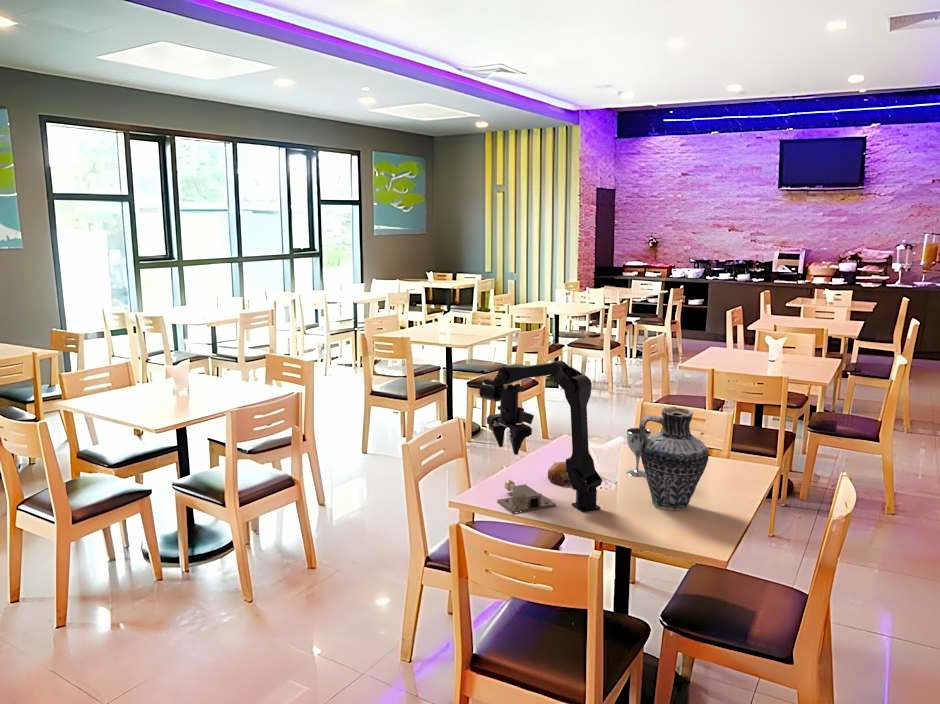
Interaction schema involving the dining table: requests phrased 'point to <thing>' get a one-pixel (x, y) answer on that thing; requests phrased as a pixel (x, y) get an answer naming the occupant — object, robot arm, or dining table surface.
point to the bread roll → (558, 474)
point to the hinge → (525, 500)
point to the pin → (509, 485)
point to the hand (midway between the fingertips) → (508, 450)
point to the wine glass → (636, 448)
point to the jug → (672, 459)
